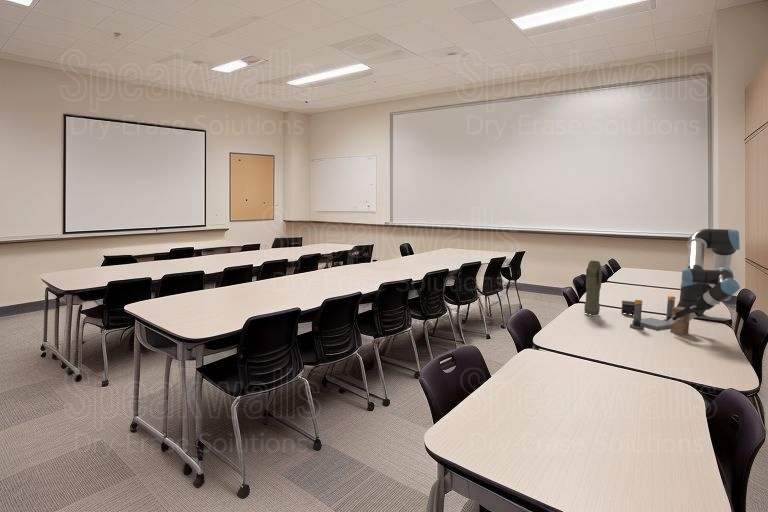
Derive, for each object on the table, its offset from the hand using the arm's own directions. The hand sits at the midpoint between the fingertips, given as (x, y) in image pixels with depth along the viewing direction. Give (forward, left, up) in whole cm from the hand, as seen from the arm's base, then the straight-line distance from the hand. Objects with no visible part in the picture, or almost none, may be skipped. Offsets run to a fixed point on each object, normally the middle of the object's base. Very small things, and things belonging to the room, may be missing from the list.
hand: (677, 321), depth 244 cm
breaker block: (0, +1, -6) cm, 6 cm away
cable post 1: (+13, -15, -6) cm, 21 cm away
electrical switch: (-10, -38, -7) cm, 40 cm away
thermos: (+12, -48, -7) cm, 50 cm away
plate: (-1, -15, -6) cm, 16 cm away
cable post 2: (-15, -15, -6) cm, 22 cm away
